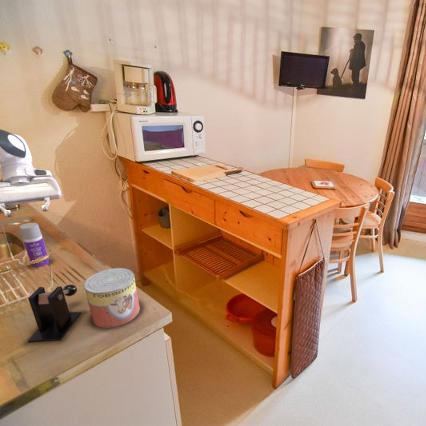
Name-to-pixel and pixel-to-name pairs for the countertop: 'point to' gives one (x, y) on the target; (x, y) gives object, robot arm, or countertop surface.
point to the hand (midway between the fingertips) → (27, 213)
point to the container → (34, 243)
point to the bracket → (51, 316)
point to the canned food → (112, 297)
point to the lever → (67, 290)
